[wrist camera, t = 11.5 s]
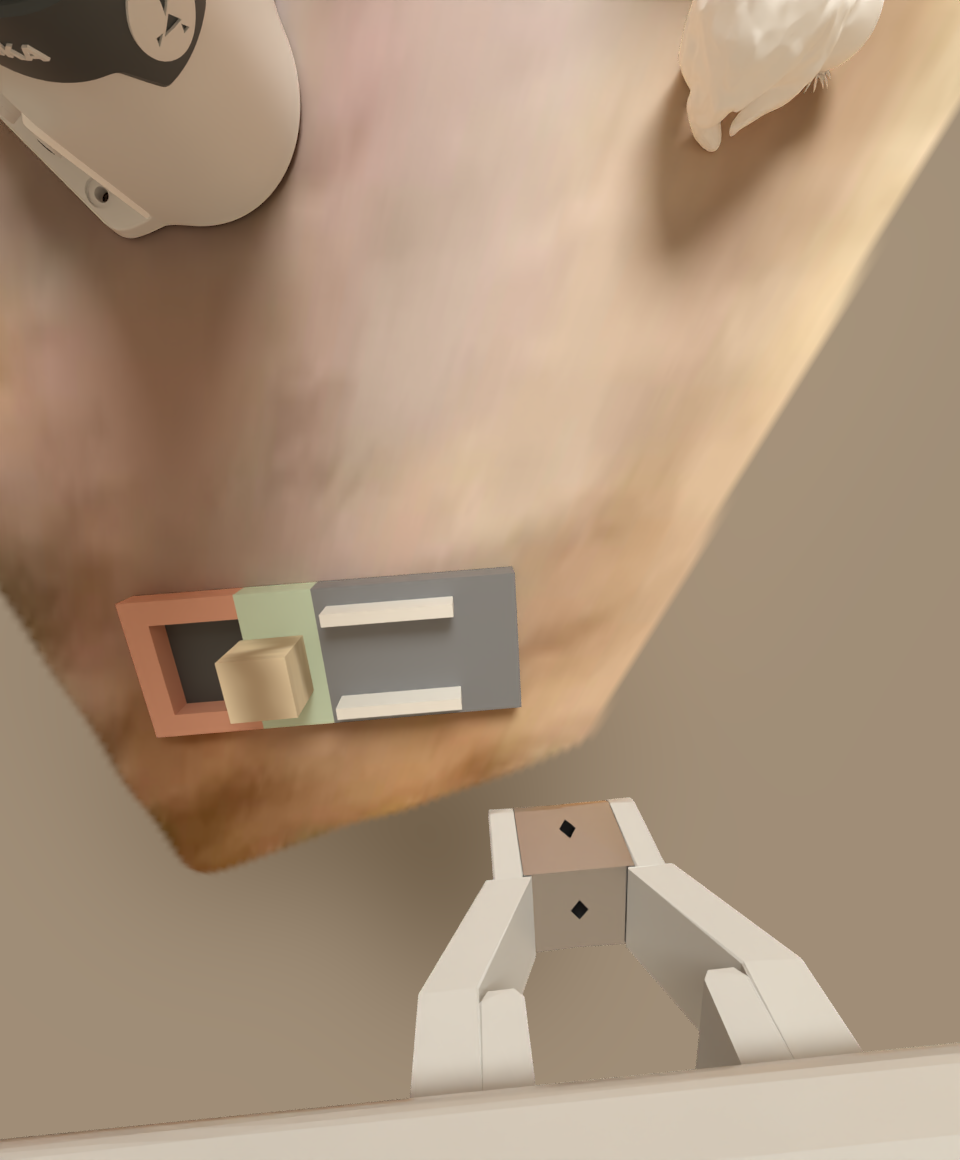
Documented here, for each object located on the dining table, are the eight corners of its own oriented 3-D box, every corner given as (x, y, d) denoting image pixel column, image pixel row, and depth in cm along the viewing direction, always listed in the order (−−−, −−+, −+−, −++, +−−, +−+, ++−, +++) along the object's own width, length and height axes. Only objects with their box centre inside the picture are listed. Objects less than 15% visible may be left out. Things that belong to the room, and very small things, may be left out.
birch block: (302, 635, 37) (284, 657, 33) (314, 690, 39) (297, 717, 35) (239, 640, 37) (214, 663, 33) (253, 695, 38) (230, 723, 35)
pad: (317, 581, 38) (310, 588, 36) (340, 709, 41) (334, 722, 39) (243, 587, 38) (232, 595, 36) (273, 715, 41) (263, 728, 39)
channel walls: (452, 596, 37) (452, 604, 35) (461, 696, 39) (462, 709, 37) (326, 606, 36) (318, 615, 35) (343, 706, 39) (337, 720, 37)
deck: (511, 566, 38) (514, 573, 36) (518, 694, 42) (521, 707, 40) (132, 596, 38) (114, 604, 36) (171, 723, 41) (156, 737, 39)
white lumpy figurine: (730, -99, 21) (970, -179, 21) (641, 59, 29) (815, -1, 29) (753, 71, 23) (974, -5, 23) (663, 174, 31) (827, 116, 31)
